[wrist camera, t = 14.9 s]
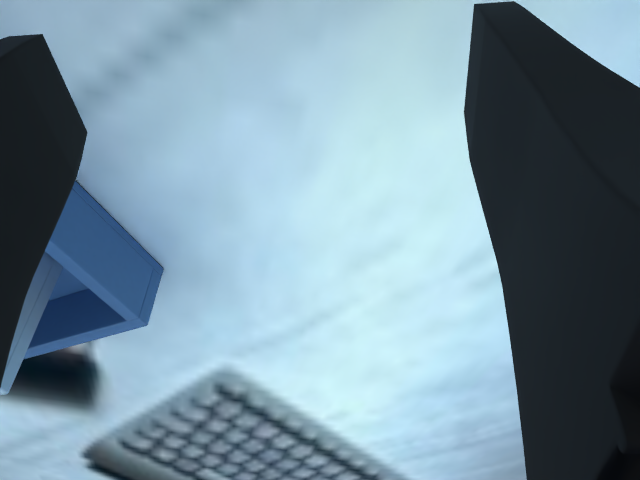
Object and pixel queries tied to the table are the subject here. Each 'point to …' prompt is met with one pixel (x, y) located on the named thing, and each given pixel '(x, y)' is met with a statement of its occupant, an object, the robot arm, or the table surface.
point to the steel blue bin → (94, 279)
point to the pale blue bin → (30, 316)
